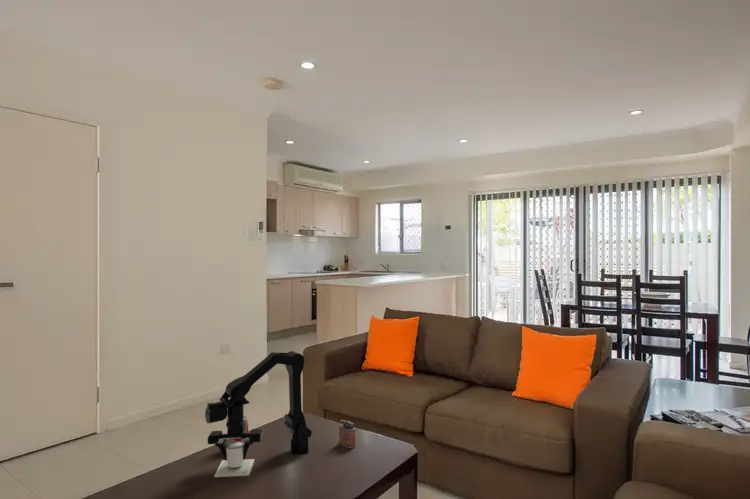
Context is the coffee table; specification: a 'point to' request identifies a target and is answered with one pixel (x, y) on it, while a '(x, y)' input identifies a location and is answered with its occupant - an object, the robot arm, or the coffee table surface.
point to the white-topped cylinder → (235, 454)
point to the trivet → (234, 469)
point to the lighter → (347, 434)
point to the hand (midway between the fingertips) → (235, 459)
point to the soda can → (244, 432)
